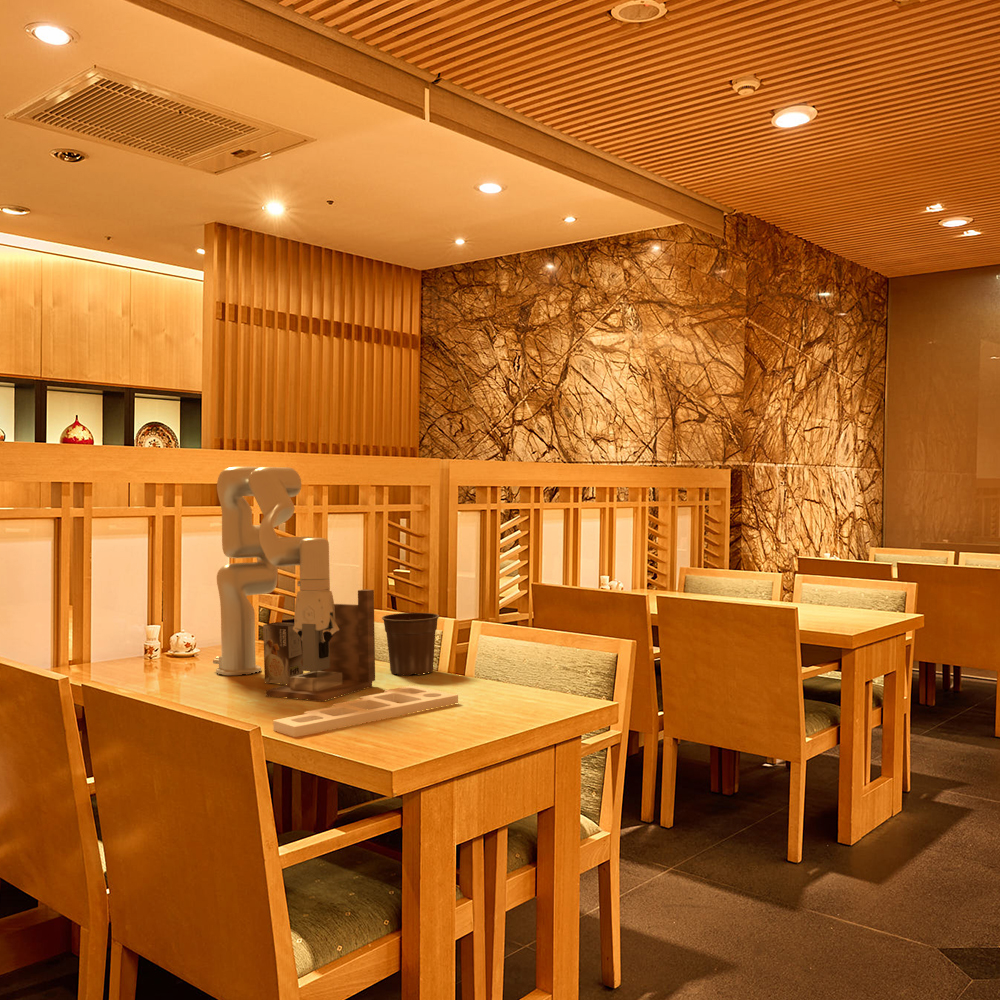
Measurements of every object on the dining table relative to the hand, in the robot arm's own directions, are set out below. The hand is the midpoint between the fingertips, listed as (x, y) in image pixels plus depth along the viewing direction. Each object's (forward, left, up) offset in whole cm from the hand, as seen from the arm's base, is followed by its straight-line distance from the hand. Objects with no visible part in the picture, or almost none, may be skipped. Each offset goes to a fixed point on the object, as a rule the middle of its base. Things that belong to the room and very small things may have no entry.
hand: (316, 656), depth 251 cm
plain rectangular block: (0, 0, -3) cm, 3 cm away
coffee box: (-17, +8, -9) cm, 21 cm away
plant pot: (+7, +34, -9) cm, 36 cm away
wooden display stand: (0, +2, -9) cm, 9 cm away
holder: (+25, -17, -10) cm, 31 cm away
